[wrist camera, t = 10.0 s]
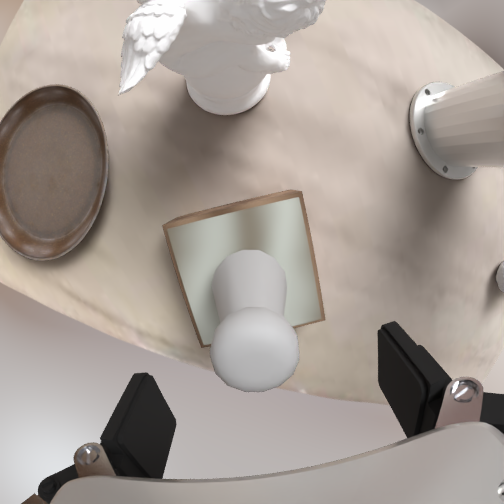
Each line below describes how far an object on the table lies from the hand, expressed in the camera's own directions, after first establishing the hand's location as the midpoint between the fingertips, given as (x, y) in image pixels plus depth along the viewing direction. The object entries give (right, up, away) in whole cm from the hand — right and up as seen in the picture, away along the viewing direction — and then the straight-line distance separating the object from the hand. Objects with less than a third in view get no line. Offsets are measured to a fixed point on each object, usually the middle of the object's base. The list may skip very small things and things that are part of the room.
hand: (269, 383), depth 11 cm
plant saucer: (-25, +15, +18) cm, 34 cm away
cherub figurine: (-4, +22, +17) cm, 28 cm away
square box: (-1, +4, +21) cm, 21 cm away
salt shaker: (-1, +3, +15) cm, 15 cm away
